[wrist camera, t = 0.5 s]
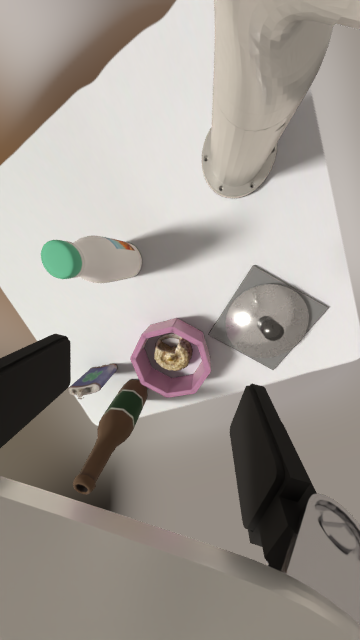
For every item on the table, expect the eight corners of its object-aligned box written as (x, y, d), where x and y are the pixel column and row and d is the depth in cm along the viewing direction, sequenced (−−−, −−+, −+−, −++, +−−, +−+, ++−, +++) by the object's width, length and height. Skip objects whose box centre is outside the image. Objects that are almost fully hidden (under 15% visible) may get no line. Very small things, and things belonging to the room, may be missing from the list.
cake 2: (198, 360, 46) (197, 373, 42) (164, 368, 49) (159, 382, 44) (184, 327, 43) (181, 338, 38) (148, 339, 46) (142, 350, 41)
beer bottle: (153, 396, 51) (112, 502, 29) (131, 402, 53) (76, 505, 31) (141, 375, 50) (87, 470, 27) (118, 382, 52) (50, 475, 29)
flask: (116, 362, 50) (92, 388, 39) (119, 371, 50) (98, 398, 40) (88, 367, 52) (59, 393, 42) (92, 375, 52) (65, 403, 42)
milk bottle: (149, 261, 39) (98, 260, 21) (128, 284, 42) (64, 303, 23) (124, 234, 38) (46, 208, 20) (104, 260, 41) (17, 259, 22)
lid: (254, 268, 36) (263, 270, 31) (324, 308, 37) (346, 317, 31) (211, 334, 42) (212, 345, 37) (272, 367, 43) (282, 383, 37)
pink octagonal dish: (158, 307, 43) (151, 314, 37) (221, 342, 43) (223, 354, 37) (132, 361, 49) (122, 374, 43) (187, 390, 49) (185, 407, 43)
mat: (252, 265, 37) (253, 265, 36) (326, 307, 37) (328, 307, 37) (208, 333, 43) (208, 334, 42) (272, 368, 43) (273, 370, 43)
